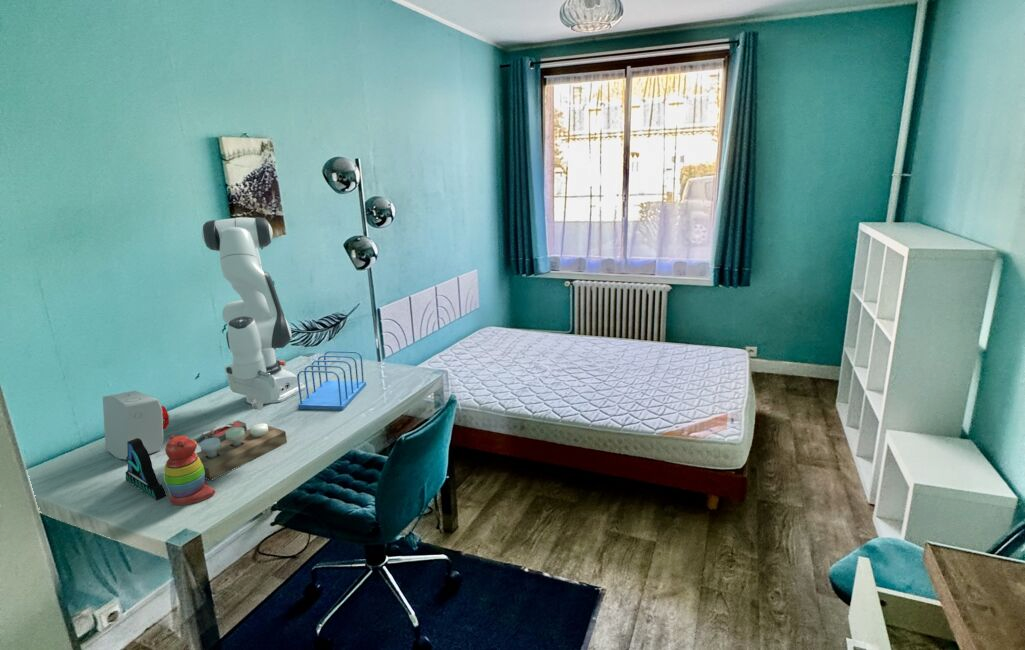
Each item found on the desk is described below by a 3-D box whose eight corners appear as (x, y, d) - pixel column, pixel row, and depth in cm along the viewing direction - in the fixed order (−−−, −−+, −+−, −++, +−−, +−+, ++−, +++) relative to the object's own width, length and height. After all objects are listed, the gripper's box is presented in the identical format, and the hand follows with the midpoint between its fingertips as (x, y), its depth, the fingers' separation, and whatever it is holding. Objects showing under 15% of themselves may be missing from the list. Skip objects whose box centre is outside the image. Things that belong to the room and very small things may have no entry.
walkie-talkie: (236, 425, 190) (178, 449, 173) (234, 413, 189) (176, 437, 172) (251, 430, 186) (194, 456, 169) (249, 418, 184) (191, 443, 168)
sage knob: (239, 440, 171) (237, 425, 169) (250, 444, 168) (247, 429, 167) (224, 447, 166) (221, 432, 165) (234, 451, 164) (232, 436, 162)
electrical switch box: (179, 449, 177) (177, 391, 174) (129, 464, 164) (125, 401, 162) (155, 439, 184) (153, 383, 182) (105, 452, 172) (102, 392, 169)
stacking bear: (217, 494, 148) (206, 436, 143) (177, 511, 141) (163, 450, 136) (203, 480, 155) (192, 424, 150) (163, 496, 148) (150, 437, 143)
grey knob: (215, 451, 164) (213, 436, 163) (226, 455, 161) (223, 439, 160) (199, 459, 160) (196, 443, 158) (209, 463, 157) (206, 447, 156)
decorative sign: (126, 480, 156) (114, 434, 152) (135, 476, 158) (124, 430, 154) (157, 501, 145) (145, 451, 141) (166, 496, 147) (155, 447, 143)
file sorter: (342, 411, 199) (338, 372, 195) (298, 410, 201) (292, 371, 197) (366, 385, 223) (363, 350, 219) (326, 384, 225) (322, 349, 221)
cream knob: (263, 436, 178) (260, 422, 177) (273, 439, 175) (271, 425, 174) (249, 443, 174) (246, 428, 172) (259, 446, 171) (256, 432, 170)
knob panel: (263, 434, 182) (261, 423, 181) (286, 442, 176) (285, 431, 175) (186, 470, 160) (184, 458, 159) (210, 480, 154) (208, 468, 153)
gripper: (281, 370, 166) (288, 410, 170) (238, 360, 175) (246, 398, 179) (263, 377, 160) (271, 419, 165) (220, 367, 170) (229, 406, 174)
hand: (258, 408), depth 172 cm, fingers closed
